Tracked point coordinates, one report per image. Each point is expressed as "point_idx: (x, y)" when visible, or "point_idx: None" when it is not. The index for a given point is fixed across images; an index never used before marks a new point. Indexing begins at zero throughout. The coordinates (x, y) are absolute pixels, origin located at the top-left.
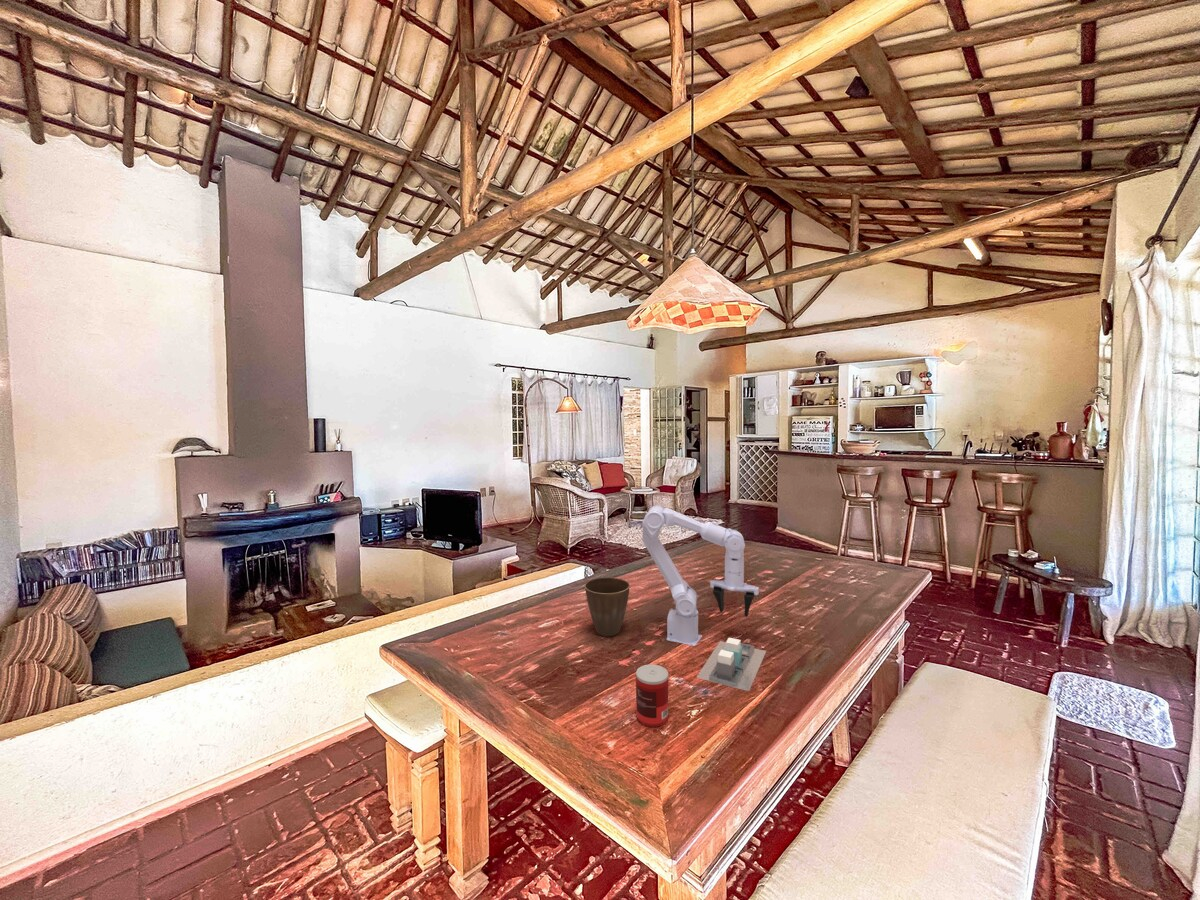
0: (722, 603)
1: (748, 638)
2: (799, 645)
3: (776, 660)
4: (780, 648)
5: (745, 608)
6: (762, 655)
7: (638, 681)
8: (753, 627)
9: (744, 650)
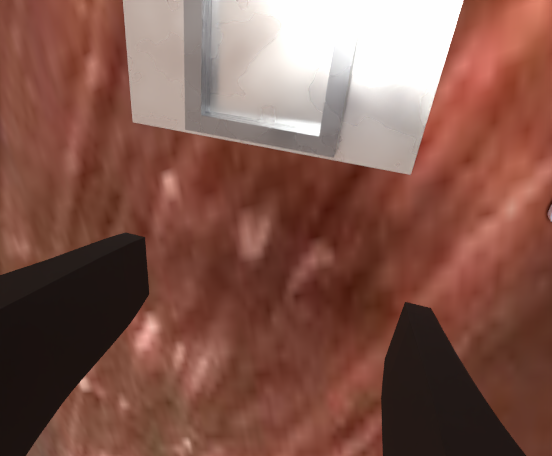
0: (399, 417)
1: (250, 259)
2: (42, 239)
3: (72, 41)
4: (95, 190)
5: (52, 274)
6: (136, 53)
7: None
8: (245, 365)
9: (243, 83)
